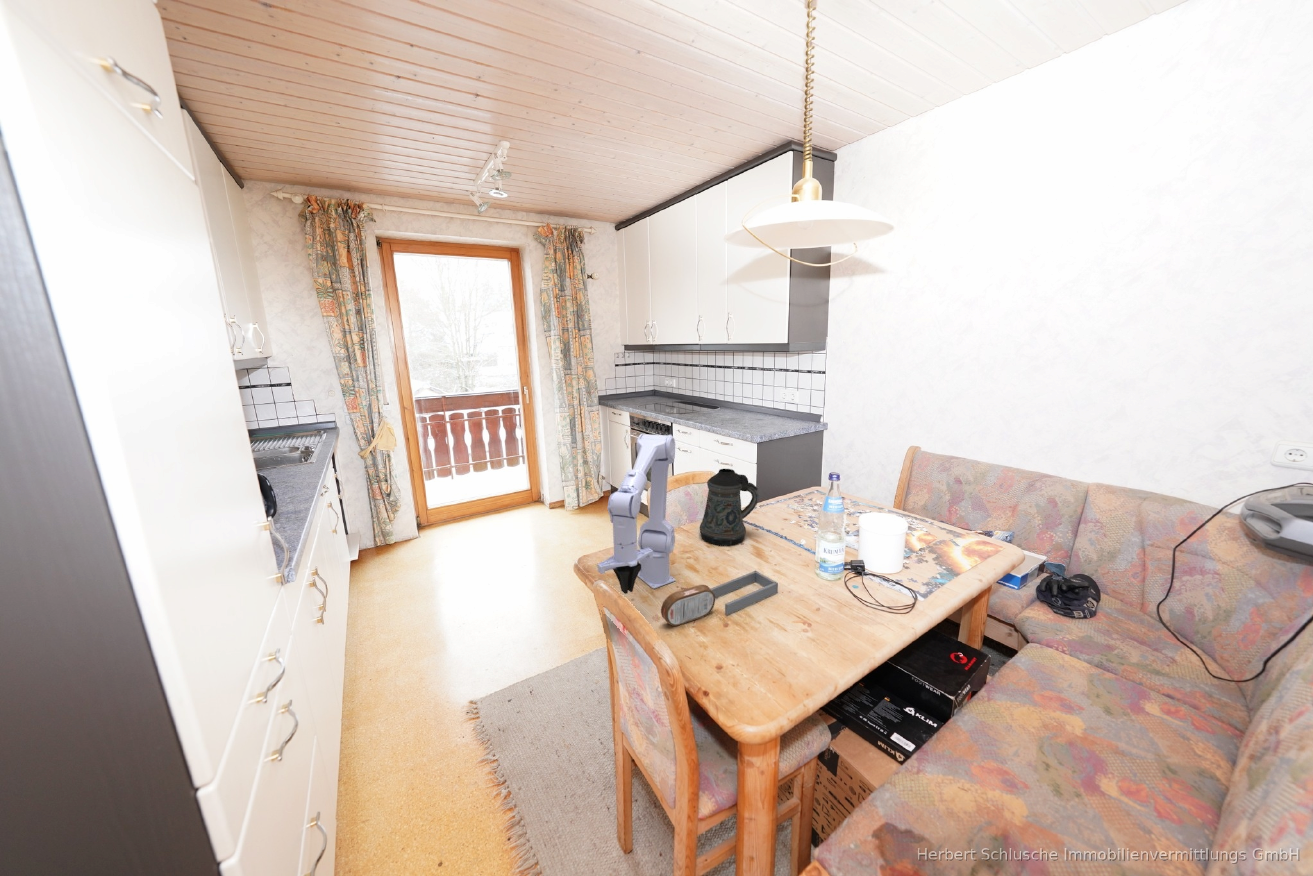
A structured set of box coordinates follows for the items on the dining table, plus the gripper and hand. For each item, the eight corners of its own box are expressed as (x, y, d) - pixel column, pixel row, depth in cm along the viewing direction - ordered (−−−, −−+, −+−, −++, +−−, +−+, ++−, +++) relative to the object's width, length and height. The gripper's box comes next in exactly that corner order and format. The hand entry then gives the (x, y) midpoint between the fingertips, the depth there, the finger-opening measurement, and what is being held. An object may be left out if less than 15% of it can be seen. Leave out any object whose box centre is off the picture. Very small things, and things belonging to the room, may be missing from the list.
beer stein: (692, 531, 170) (692, 466, 165) (739, 523, 176) (741, 461, 170) (710, 550, 155) (711, 479, 149) (761, 541, 160) (764, 473, 155)
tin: (710, 608, 122) (710, 579, 120) (717, 614, 119) (717, 585, 117) (660, 625, 115) (659, 594, 113) (666, 632, 112) (666, 601, 111)
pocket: (705, 600, 125) (706, 590, 125) (755, 579, 135) (755, 570, 135) (727, 615, 118) (727, 605, 118) (777, 592, 128) (778, 583, 128)
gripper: (606, 554, 103) (608, 608, 106) (659, 538, 111) (660, 589, 114) (592, 543, 109) (595, 594, 112) (644, 528, 117) (645, 577, 120)
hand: (627, 590), depth 113 cm, fingers closed
